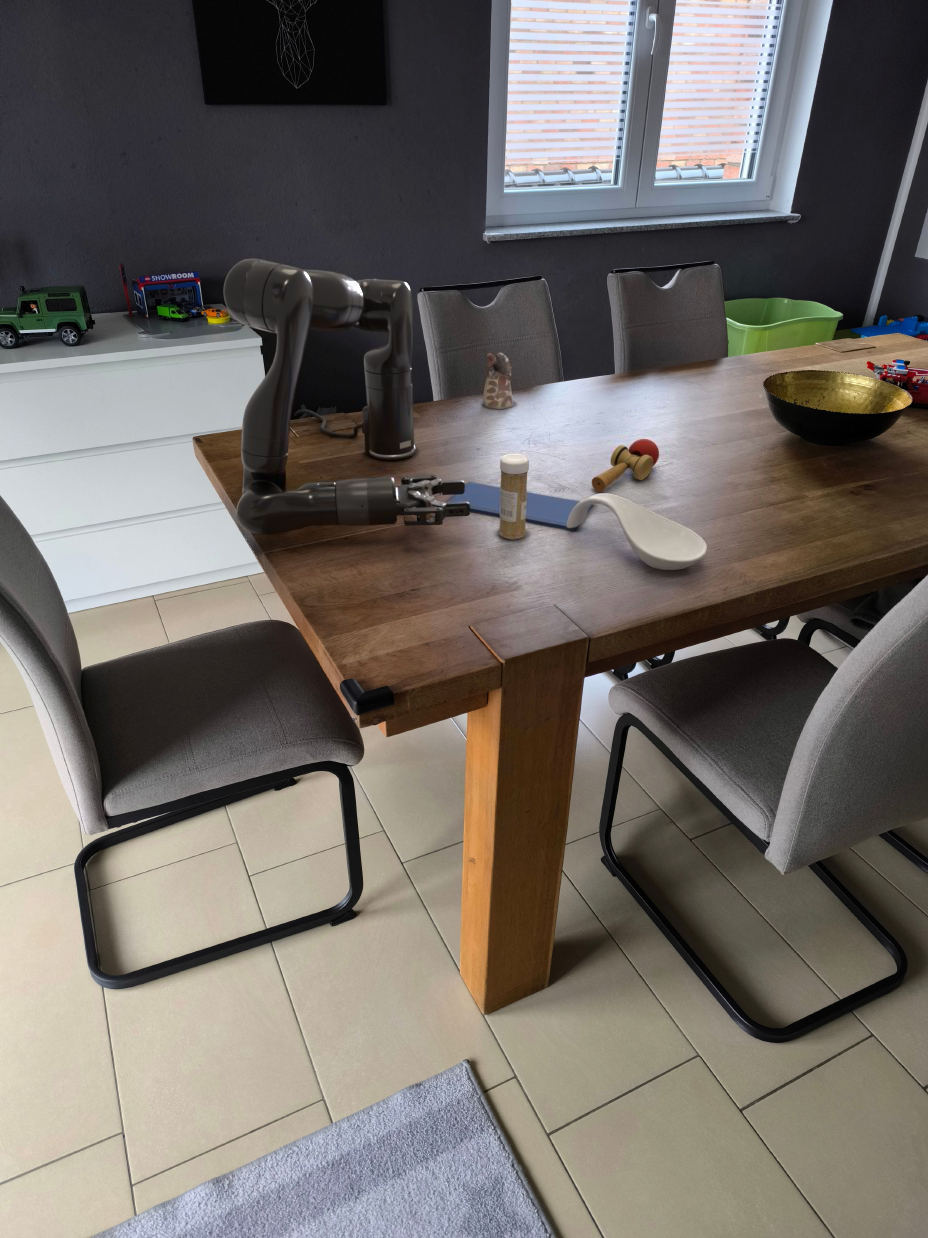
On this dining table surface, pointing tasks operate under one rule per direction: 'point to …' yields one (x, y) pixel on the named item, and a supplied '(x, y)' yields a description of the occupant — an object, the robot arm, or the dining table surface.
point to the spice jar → (513, 495)
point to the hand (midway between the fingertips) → (467, 497)
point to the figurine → (498, 383)
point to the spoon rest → (647, 533)
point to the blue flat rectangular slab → (537, 505)
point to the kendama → (629, 463)
